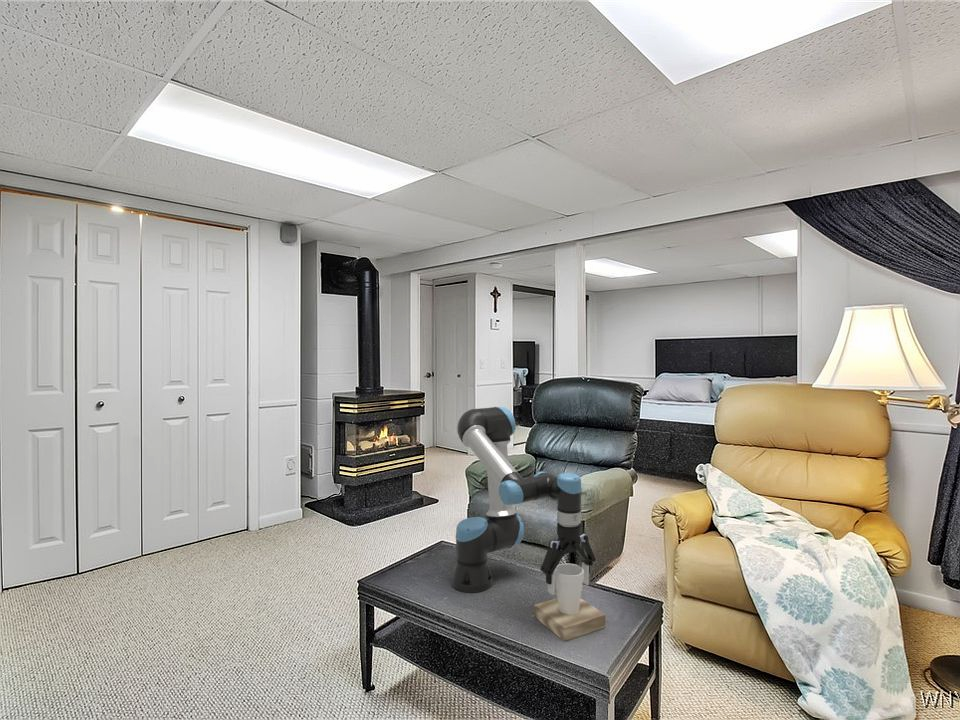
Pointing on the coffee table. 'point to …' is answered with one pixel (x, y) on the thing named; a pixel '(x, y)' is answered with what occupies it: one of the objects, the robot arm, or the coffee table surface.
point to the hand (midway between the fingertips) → (568, 588)
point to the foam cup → (569, 587)
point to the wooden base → (569, 619)
